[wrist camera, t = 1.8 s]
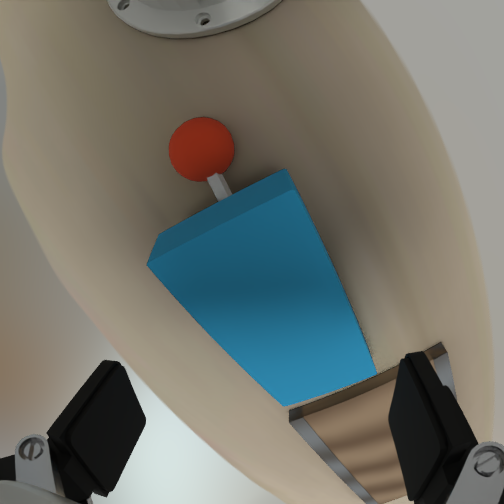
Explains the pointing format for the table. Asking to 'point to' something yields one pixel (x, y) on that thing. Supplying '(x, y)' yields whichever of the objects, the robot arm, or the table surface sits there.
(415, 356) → the robot arm
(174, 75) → the table surface
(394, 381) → the ribbed board
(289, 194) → the lever
